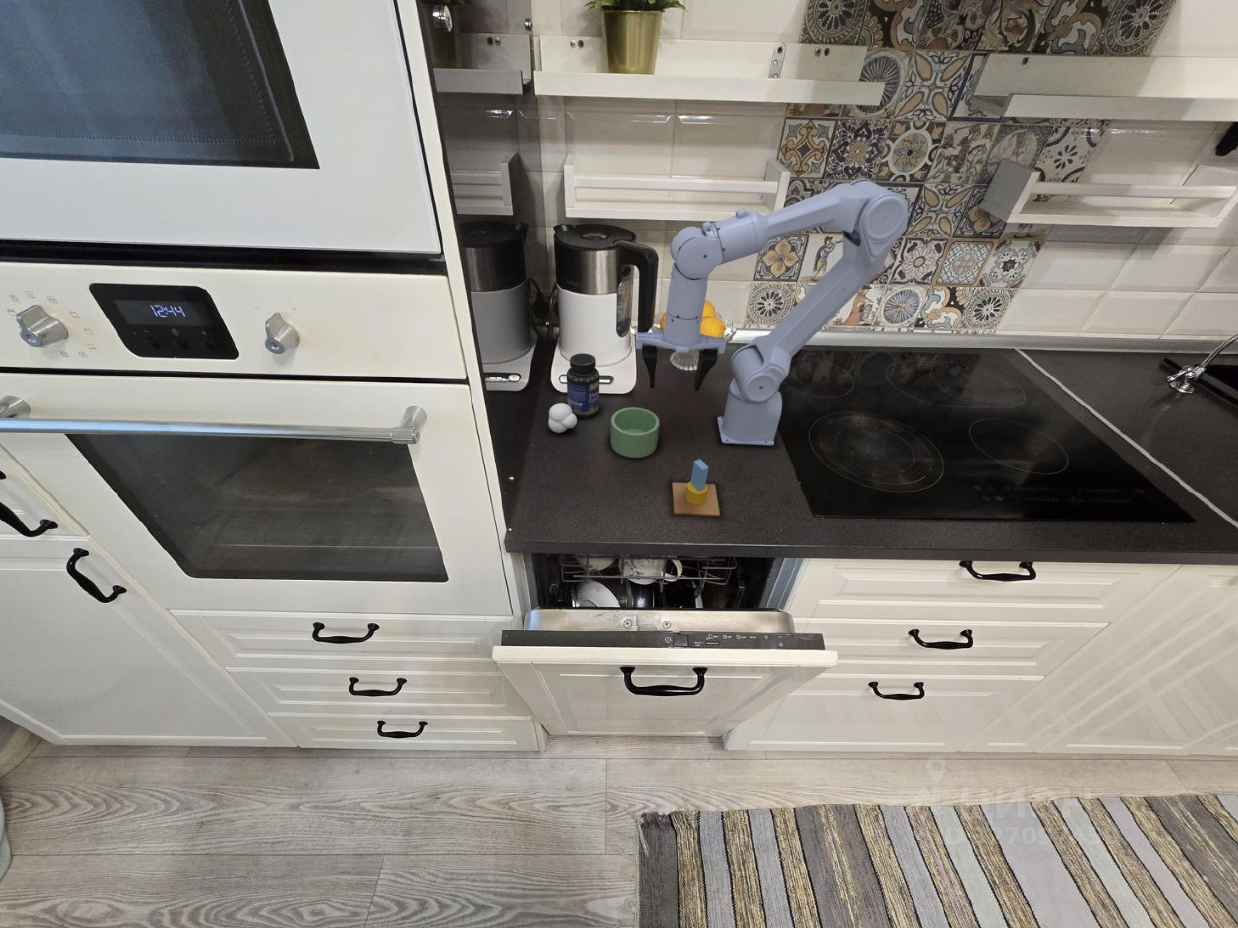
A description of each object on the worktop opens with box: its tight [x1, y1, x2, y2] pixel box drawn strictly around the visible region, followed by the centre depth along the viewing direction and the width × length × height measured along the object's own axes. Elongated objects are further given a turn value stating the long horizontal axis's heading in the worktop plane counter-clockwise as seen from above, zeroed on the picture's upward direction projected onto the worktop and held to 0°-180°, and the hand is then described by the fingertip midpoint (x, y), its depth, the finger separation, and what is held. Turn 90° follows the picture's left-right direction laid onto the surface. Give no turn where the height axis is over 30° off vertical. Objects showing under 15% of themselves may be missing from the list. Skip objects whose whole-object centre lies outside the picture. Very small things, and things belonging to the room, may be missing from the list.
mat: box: [671, 482, 721, 517], centre depth 82 cm, size 7×7×1 cm
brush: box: [685, 458, 709, 505], centre depth 79 cm, size 3×3×7 cm
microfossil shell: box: [547, 402, 578, 434], centre depth 93 cm, size 4×5×6 cm
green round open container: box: [609, 406, 660, 459], centre depth 91 cm, size 8×8×5 cm
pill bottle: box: [566, 353, 600, 419], centre depth 97 cm, size 6×6×11 cm
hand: (674, 386), depth 89 cm, fingers open, 7 cm apart
